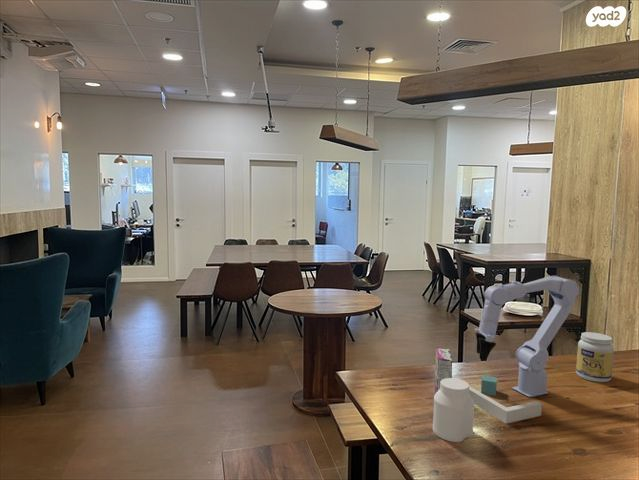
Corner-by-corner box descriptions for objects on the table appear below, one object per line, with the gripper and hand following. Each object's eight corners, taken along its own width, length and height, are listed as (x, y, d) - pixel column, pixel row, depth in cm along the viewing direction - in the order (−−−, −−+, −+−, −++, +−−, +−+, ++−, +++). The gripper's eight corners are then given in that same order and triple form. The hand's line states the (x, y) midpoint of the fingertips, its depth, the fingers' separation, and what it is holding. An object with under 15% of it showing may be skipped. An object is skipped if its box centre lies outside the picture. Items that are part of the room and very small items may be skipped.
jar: (454, 445, 122) (456, 394, 121) (427, 431, 130) (429, 382, 129) (477, 432, 129) (480, 384, 128) (450, 419, 137) (452, 373, 136)
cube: (481, 388, 161) (482, 375, 161) (496, 390, 159) (496, 377, 159) (481, 393, 157) (481, 380, 156) (496, 396, 155) (496, 382, 154)
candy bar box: (433, 391, 157) (435, 347, 156) (448, 393, 156) (449, 348, 155) (435, 405, 146) (437, 358, 145) (451, 407, 145) (453, 359, 144)
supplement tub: (575, 378, 171) (578, 337, 170) (576, 368, 181) (578, 329, 180) (612, 386, 165) (615, 342, 163) (611, 375, 175) (614, 334, 174)
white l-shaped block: (495, 390, 159) (495, 379, 159) (541, 415, 141) (541, 403, 140) (462, 396, 153) (462, 385, 153) (505, 423, 135) (506, 411, 135)
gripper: (475, 313, 162) (467, 348, 163) (481, 321, 148) (472, 359, 149) (495, 318, 161) (486, 353, 162) (502, 326, 147) (493, 364, 147)
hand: (481, 356), depth 155 cm, fingers open, 7 cm apart
